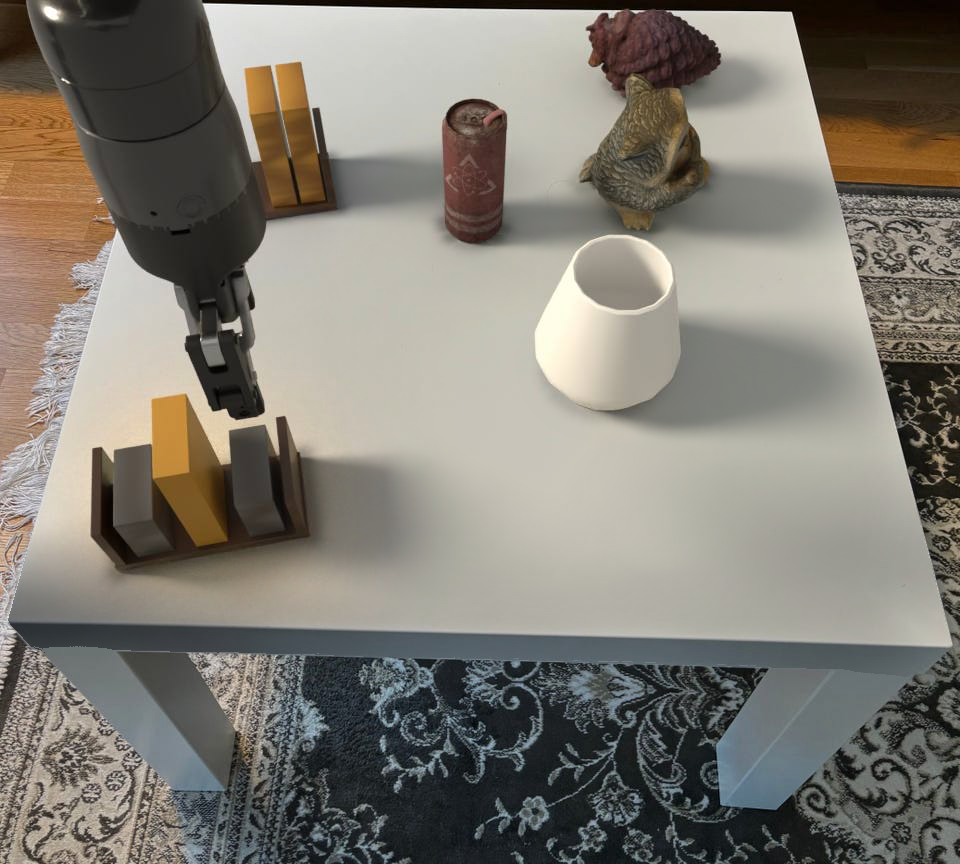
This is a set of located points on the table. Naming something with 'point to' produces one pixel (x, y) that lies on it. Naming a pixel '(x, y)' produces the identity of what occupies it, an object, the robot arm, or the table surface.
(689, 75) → the pine cone
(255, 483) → the brown book rack
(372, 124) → the table surface
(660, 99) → the figurine
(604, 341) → the cup
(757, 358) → the table surface
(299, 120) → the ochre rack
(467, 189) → the can
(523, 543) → the table surface
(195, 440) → the ochre book
